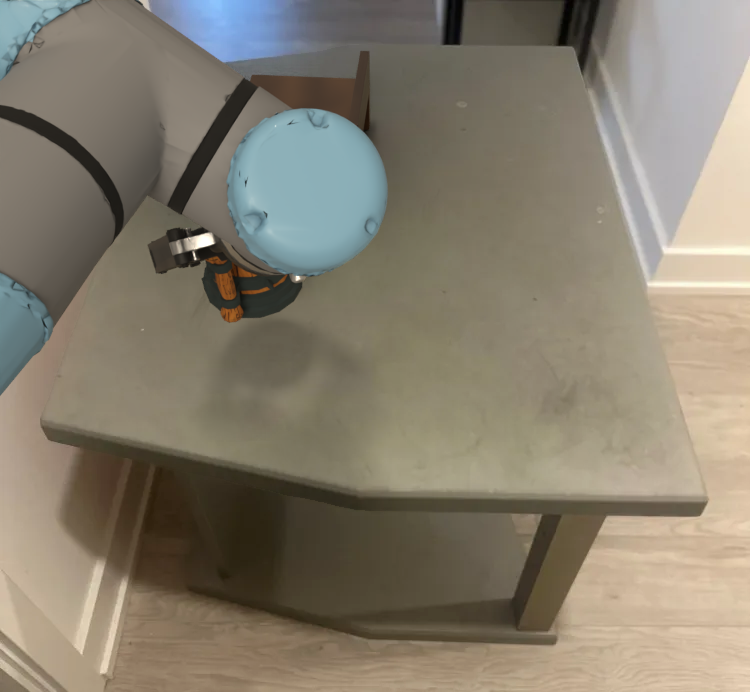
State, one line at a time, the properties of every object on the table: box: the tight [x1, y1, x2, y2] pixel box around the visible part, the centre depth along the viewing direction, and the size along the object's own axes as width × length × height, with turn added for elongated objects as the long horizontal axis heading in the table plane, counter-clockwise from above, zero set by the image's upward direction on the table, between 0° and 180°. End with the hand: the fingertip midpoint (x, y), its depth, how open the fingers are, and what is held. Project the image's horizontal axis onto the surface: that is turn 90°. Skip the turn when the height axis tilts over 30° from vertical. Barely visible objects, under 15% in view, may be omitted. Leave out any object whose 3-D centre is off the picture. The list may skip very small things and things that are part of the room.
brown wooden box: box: [249, 50, 371, 132], centre depth 96 cm, size 16×16×11 cm
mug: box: [201, 257, 304, 324], centre depth 66 cm, size 13×10×12 cm
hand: (244, 238), depth 69 cm, fingers closed on mug, 10 cm apart
